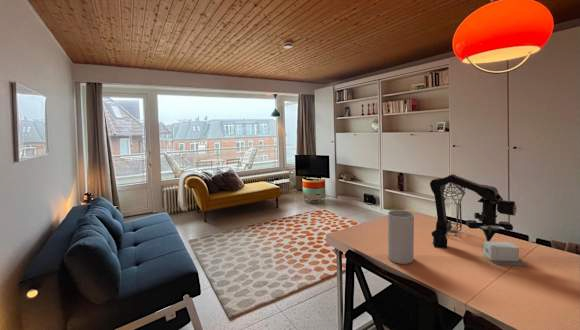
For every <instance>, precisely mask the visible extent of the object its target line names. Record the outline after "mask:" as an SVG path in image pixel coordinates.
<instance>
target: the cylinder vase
mask: <svg viewBox="0 0 580 330" xmlns="http://www.w3.org/2000/svg"><path fill="white" fill-rule="evenodd" d="M414 220H415V214H414V212H411V211H408V210H401V209H397V210H396V209H395V210H389V211H388V212H387V245H388V246H387V253H388V255H387V257H388V259H389V260H390V261H391V262H393V263H395V264H399V265H408V263H409V264H412V263H413V262H414V251H415V250H414V244H415V242H414V237H415V236H414V235H415V233H414V232H415V231H414V229H415V225H414V224H415V221H414Z"/></svg>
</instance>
